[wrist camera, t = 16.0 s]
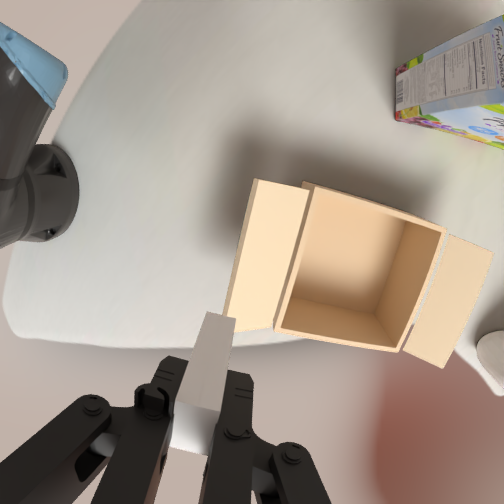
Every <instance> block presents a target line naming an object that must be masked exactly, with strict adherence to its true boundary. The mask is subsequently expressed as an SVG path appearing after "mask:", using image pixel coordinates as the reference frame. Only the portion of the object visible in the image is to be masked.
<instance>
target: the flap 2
mask: <svg viewBox="0 0 504 504" xmlns="http://www.w3.org/2000/svg"><path fill="white" fill-rule="evenodd" d="M493 255H494V253H493V252H491V251H489V250H486V249H484V248H482V247H479V246H477V245H475V244H472V243H470V242H468V241H465V240H463V239H460V238H458V237H455V236H453V235H450V234H449V237H448V240H447V243H446V246H445V249H444V252H443V255H442V258H441V261H440V264H439V266H438V269H437V272H436V275H435V277H434V280H433V283H432V285H431V288H430V290H429V293H428V295H427V298H426V300H425V303H424V305H423V307H422V310H421V312H420V314H419V317H418V319H417V321H416V323H415V325H414V328H413V330H412V332H411V334H410V336H409V339H408V340H407V343H406V345H405V347H404V349H403V350H404V351H406V352H408V353H410V354H412V355H414V356H416V357H418V358H421V359H423V360H425V361H427V362H429V363H432V364H434V365H436V366H438V367H440V368H444V366H445V364H446V362H447V360H448V359H449V356H450V355H451V353H452V351H453V349H454V347H455V345H456V343H457V341H458V339H459V337H460V335H461V333H462V331H463V329H464V327H465V325H466V323H467V321H468V319H469V316H470V314H471V312H472V310H473V307H474V305H475V303H476V300H477V298H478V295H479V293H480V291H481V288H482V285H483V283H484V280H485V278H486V275H487V272H488V270H489V267H490V264H491V261H492V258H493Z"/></svg>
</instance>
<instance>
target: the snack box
mask: <svg viewBox="0 0 504 504" xmlns="http://www.w3.org/2000/svg"><path fill="white" fill-rule="evenodd" d="M395 71H396V116H395V120H396V121H400V122H405V123H409V124H414V125H418V126H423V127H427V128H431V129H435V130H439V131H443V132H447V133H451V134H454V135H458V136H462V137H465V138H469V139H472V140H475V141H479V142H482V143H485V144H488V145H491V146H495V147H498V148H500V149H502V150H504V15H501V16H499V17H497V18H495V19H492V20H490V21H488V22H486V23H484V24H481V25H479V26H477V27H475V28H473V29H471V30H468V31H466V32H464V33H462V34H460V35H458V36H456V37H454V38H452V39H450V40H448V41H447V42H445V43H443V44H441V45H439V46H437V47H435V48H433V49H431V50H429V51H427V52H425V53H424V54H422V55H420V56H418V57H416V58H414V59H412V60H411V61H409V62H407V63H405V64H403V65H402V66H400V67H398V68H396V69H395Z"/></svg>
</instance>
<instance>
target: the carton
mask: <svg viewBox="0 0 504 504" xmlns="http://www.w3.org/2000/svg"><path fill="white" fill-rule="evenodd" d="M301 188H303V189H307V190H309V194H308V198H307V202H306V206H305V209H304V213H303V217H302V221H301V224H300V228H299V232H298V235H297V239H296V243H295V246H294V250H293V253H292V257H291V260H290V264H289V267H288V271H287V274H286V278H285V281H284V285H283V288H282V292H281V295H280V298H279V302H278V305H277V308H276V312H275V315H274V318H273V328H274V332H279V333H284V334H289V335H294V336H299V337H304V338H310V339H315V340H321V341H326V342H332V343H338V344H344V345H351V346H356V347H362V348H369V349H376V350H383V351H390V352H398V351H399V349H400V347H401V345H402V343H403V341H404V339H405V337H406V335H407V333H408V330H409V328H410V326H411V324H412V322H413V319H414V317H415V315H416V312H417V310H418V308H419V305H420V303H421V301H422V298H423V296H424V293H425V291H426V288H427V286H428V283H429V280H430V278H431V275H432V272H433V270H434V267H435V264H436V261H437V258H438V256H439V253H440V250H441V247H442V244H443V240H444V237H445V234H446V231H447V229H446V228H444V227H442V226H439V225H437V224H435V223H432V222H430V221H428V220H425V219H423V218H420V217H418V216H415V215H413V214H411V213H408V212H405V211H402V210H399V209H396V208H393V207H390V206H387V205H383V204H380V203H377V202H374V201H371V200H368V199H364V198H361V197H358V196H355V195H351V194H348V193H345V192H341V191H338V190H334V189H331V188H327V187H324V186H320V185H316V184H313V183H309V182H305V181H302V185H301Z"/></svg>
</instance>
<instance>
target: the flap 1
mask: <svg viewBox="0 0 504 504" xmlns="http://www.w3.org/2000/svg"><path fill="white" fill-rule="evenodd" d="M308 194H309V190H307V189H303V188H299V187H294V186H290V185H285V184H281V183H276V182H271V181H266V180H261V179H256V178H254V180H253V184H252V188H251V192H250V195H249V199H248V203H247V208H246V212H245V216H244V220H243V225H242V229H241V233H240V238H239V242H238V246H237V252H236V256H235V261H234V265H233V270H232V274H231V278H230V283H229V287H228V292H227V296H226V300H225V305H224V309H223V314H222V315H224V316H228V317H232V318H236V323H235V329H234V332H242V331H249V330H256V329H263V328H270V327H271V325H272V322H273V318H274V315H275V312H276V308H277V305H278V302H279V298H280V295H281V292H282V288H283V285H284V281H285V278H286V274H287V271H288V267H289V264H290V260H291V257H292V253H293V250H294V246H295V243H296V239H297V235H298V232H299V228H300V224H301V221H302V217H303V213H304V209H305V206H306V202H307V198H308Z"/></svg>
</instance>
